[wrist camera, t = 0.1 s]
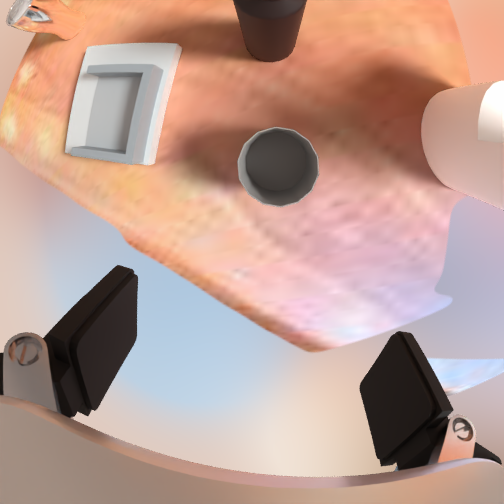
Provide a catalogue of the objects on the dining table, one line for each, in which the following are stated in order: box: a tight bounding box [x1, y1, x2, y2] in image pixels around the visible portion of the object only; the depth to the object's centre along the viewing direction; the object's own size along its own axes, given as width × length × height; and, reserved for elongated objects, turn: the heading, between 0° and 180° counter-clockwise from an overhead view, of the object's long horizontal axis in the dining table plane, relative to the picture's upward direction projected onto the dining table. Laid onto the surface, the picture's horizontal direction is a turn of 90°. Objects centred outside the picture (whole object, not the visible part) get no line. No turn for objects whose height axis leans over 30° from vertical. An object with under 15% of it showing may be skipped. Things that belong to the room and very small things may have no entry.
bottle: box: [233, 0, 307, 62], centre depth 21 cm, size 7×7×20 cm
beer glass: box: [6, 0, 86, 40], centre depth 21 cm, size 7×7×15 cm
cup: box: [237, 127, 319, 207], centre depth 32 cm, size 8×8×10 cm
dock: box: [65, 43, 183, 165], centre depth 31 cm, size 18×16×6 cm
